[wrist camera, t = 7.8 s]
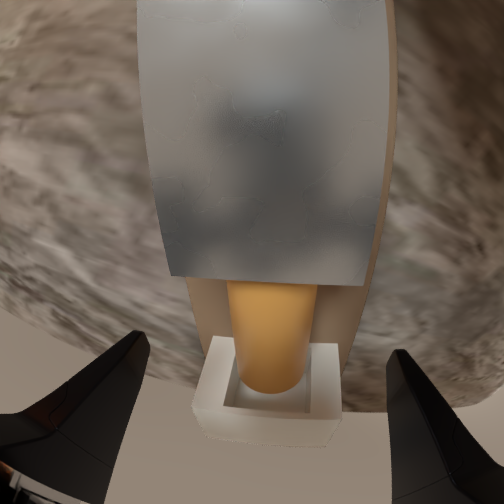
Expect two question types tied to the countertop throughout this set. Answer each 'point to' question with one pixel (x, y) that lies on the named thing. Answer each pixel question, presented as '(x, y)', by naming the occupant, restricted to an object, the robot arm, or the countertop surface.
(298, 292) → the orange tube
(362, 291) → the walnut board
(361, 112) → the steel sleeve
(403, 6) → the countertop surface
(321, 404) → the white socket
